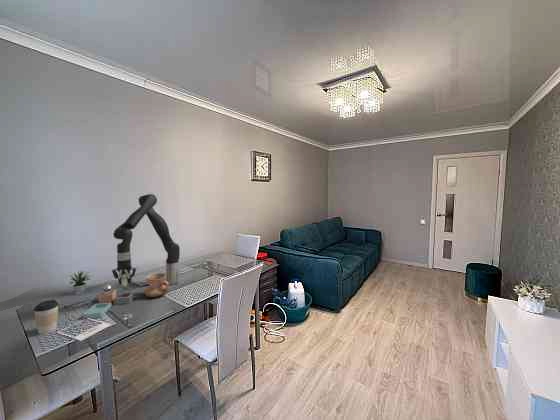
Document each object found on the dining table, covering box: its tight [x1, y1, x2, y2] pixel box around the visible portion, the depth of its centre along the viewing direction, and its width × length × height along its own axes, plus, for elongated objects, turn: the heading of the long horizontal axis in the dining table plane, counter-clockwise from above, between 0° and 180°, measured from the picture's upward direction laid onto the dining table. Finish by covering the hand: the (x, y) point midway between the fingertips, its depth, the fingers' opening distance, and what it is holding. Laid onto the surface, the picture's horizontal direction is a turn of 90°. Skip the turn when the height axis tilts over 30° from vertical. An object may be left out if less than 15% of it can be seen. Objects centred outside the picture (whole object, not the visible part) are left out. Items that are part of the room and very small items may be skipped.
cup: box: [98, 289, 117, 304], centre depth 152 cm, size 7×7×6 cm
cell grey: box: [102, 283, 112, 295], centre depth 152 cm, size 4×4×11 cm
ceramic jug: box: [144, 272, 170, 298], centre depth 163 cm, size 18×14×14 cm
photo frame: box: [56, 318, 111, 342], centre depth 121 cm, size 15×1×18 cm
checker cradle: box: [113, 291, 136, 306], centre depth 154 cm, size 9×13×5 cm
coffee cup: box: [33, 299, 60, 335], centre depth 119 cm, size 9×9×15 cm
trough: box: [82, 302, 112, 320], centre depth 138 cm, size 9×13×3 cm
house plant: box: [66, 270, 94, 295], centre depth 162 cm, size 14×14×16 cm
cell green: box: [120, 274, 130, 291], centre depth 151 cm, size 4×4×11 cm
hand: (125, 283), depth 152 cm, fingers closed on cell green, 4 cm apart
